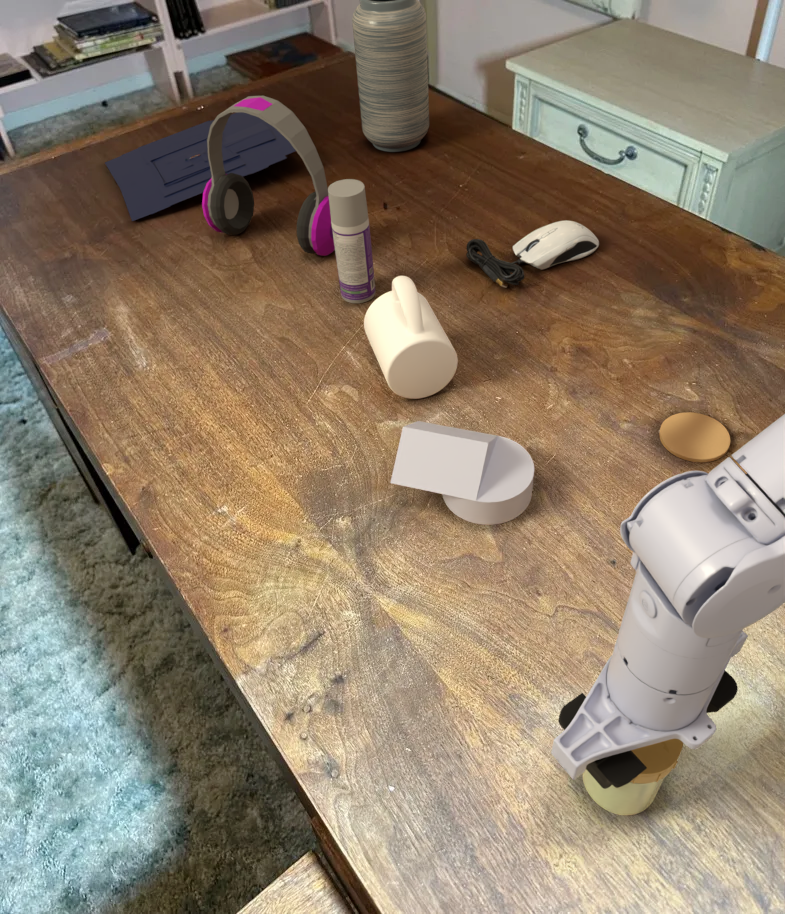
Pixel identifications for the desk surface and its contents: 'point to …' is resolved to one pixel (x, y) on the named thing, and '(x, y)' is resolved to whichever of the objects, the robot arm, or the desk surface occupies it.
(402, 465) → the wedge on round base
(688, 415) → the tan round disc
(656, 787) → the jar
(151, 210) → the dark blue flat panel
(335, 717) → the desk surface
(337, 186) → the container
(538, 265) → the computer mouse
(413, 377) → the mug
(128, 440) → the desk surface
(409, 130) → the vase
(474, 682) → the desk surface
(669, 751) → the lid
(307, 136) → the headphones
